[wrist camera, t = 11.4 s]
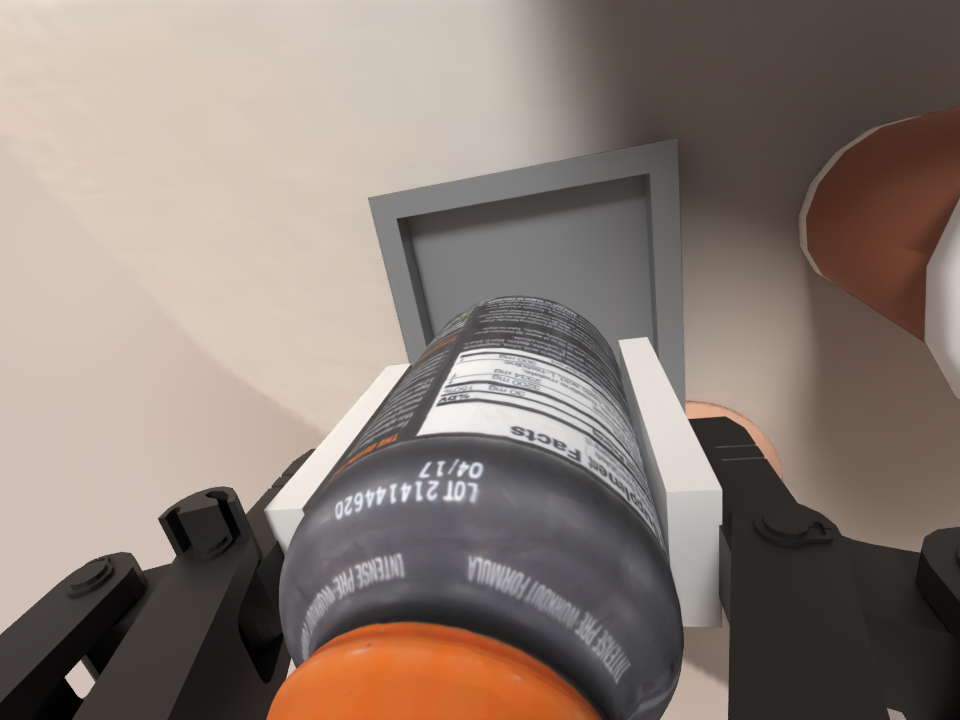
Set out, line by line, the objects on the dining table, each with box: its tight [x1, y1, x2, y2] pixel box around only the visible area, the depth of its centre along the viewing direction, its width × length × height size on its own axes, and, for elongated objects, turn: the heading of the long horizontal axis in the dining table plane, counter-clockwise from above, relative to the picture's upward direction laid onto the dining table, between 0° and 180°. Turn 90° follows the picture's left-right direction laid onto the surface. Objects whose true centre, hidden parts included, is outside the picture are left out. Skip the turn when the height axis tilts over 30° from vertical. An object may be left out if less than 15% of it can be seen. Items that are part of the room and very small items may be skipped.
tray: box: [368, 138, 686, 415], centre depth 21 cm, size 12×12×2 cm
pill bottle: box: [266, 295, 684, 720], centre depth 9 cm, size 6×6×11 cm
